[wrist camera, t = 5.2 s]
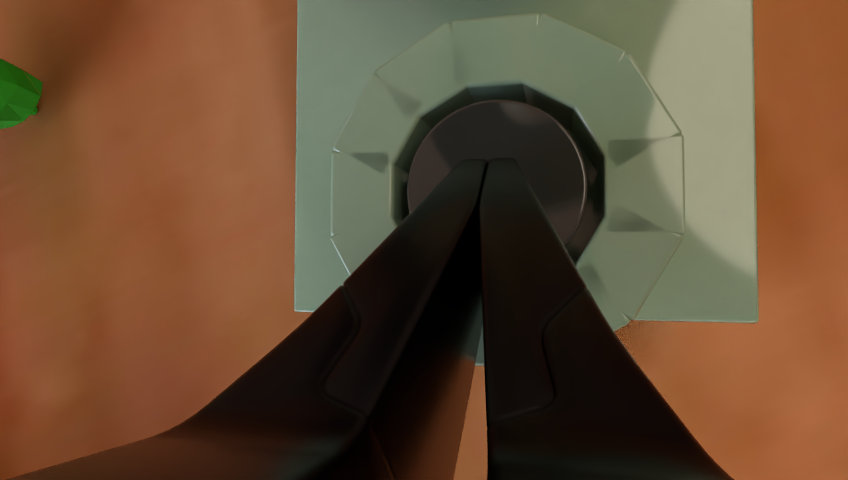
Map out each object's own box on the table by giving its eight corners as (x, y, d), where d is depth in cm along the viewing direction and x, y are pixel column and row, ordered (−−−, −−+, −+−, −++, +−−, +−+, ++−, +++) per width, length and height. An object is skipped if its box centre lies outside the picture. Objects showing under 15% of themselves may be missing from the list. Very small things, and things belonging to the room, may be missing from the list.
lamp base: (694, 327, 15) (802, 382, 8) (370, 319, 17) (248, 356, 11) (688, -103, 16) (787, -383, 9) (373, -61, 18) (256, -261, 11)
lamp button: (584, 277, 11) (589, 280, 9) (429, 275, 12) (405, 278, 10) (583, 119, 11) (587, 92, 9) (429, 128, 12) (405, 103, 10)
